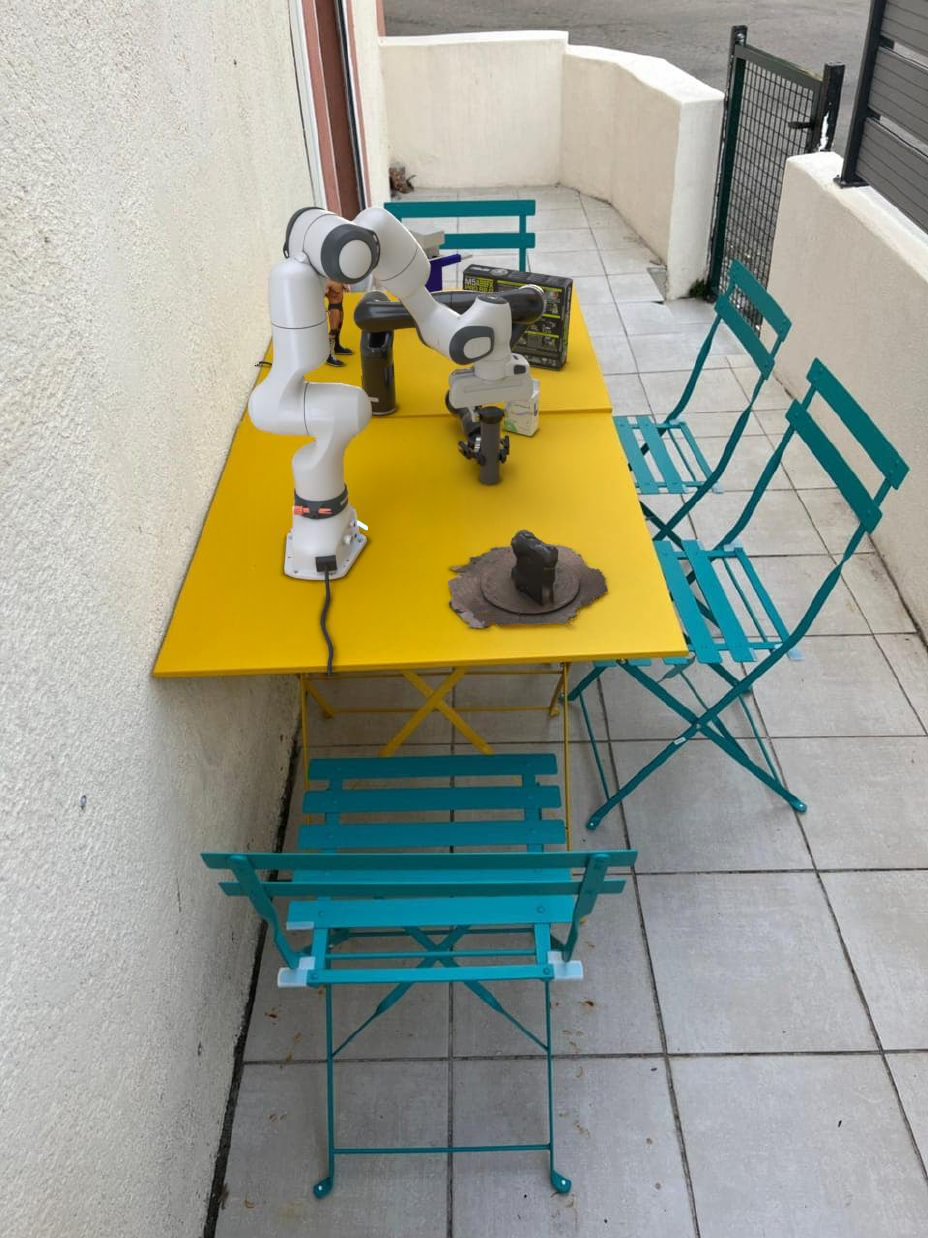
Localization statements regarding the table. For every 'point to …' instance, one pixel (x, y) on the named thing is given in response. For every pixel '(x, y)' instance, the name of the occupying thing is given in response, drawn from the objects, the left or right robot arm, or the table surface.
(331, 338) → the figurine
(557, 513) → the table surface
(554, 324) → the box
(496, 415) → the lid
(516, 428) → the ink box
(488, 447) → the dark grey cylinder
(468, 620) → the sculpture
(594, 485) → the table surface
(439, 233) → the toy
